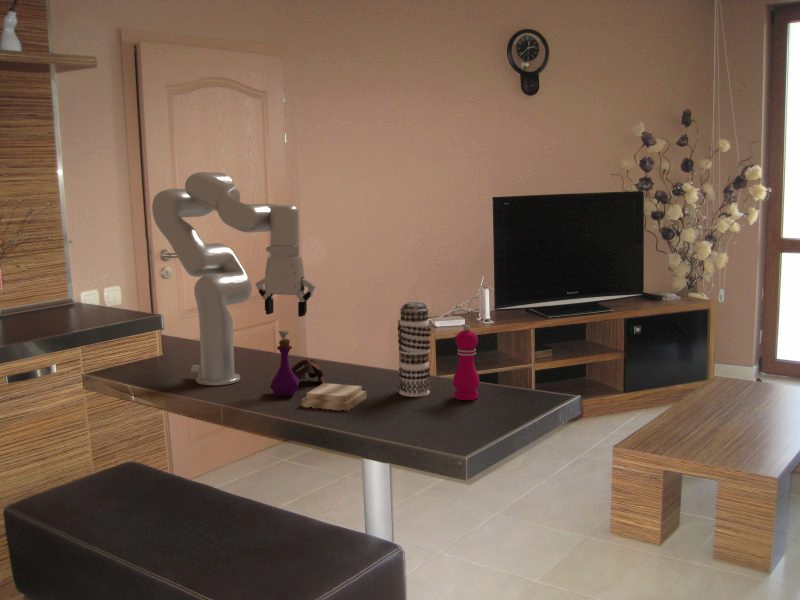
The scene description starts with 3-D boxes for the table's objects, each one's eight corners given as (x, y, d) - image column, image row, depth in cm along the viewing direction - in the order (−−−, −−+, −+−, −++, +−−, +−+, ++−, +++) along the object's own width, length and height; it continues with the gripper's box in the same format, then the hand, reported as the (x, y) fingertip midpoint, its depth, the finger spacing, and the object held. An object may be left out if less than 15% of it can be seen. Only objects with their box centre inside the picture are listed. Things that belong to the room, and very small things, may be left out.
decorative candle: (392, 395, 212) (392, 304, 209) (404, 387, 221) (404, 300, 217) (424, 398, 209) (424, 306, 206) (435, 390, 218) (435, 301, 214)
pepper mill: (482, 395, 212) (483, 323, 209) (476, 402, 205) (476, 327, 202) (456, 393, 214) (457, 322, 211) (449, 400, 207) (450, 326, 204)
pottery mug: (325, 389, 221) (310, 366, 218) (297, 402, 223) (282, 379, 220) (331, 369, 232) (317, 347, 229) (304, 382, 234) (290, 360, 232)
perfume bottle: (272, 391, 217) (270, 328, 214) (299, 391, 217) (298, 327, 215) (270, 398, 209) (268, 333, 207) (298, 398, 210) (297, 332, 207)
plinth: (301, 406, 201) (301, 393, 201) (322, 394, 214) (322, 381, 213) (348, 411, 197) (347, 397, 197) (366, 398, 210) (366, 385, 209)
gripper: (249, 251, 207) (250, 315, 210) (308, 254, 202) (309, 319, 204) (262, 249, 214) (263, 310, 217) (320, 251, 209) (320, 314, 211)
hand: (285, 314), depth 210 cm, fingers open, 9 cm apart
